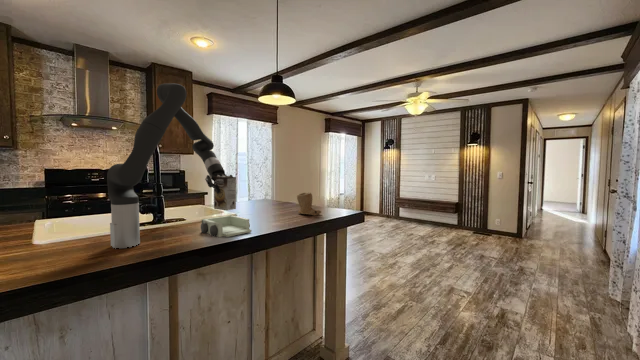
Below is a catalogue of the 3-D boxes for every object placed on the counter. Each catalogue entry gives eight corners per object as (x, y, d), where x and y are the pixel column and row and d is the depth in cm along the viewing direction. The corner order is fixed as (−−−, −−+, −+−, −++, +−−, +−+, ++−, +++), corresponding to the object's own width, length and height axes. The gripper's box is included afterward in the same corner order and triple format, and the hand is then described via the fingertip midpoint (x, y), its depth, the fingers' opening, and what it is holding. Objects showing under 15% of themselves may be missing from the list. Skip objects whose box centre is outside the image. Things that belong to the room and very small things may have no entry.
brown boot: (293, 214, 188) (293, 192, 187) (305, 212, 197) (305, 191, 196) (309, 217, 178) (309, 193, 177) (321, 214, 187) (322, 192, 186)
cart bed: (221, 239, 124) (221, 225, 123) (199, 231, 137) (199, 219, 137) (256, 231, 138) (256, 219, 137) (233, 225, 151) (233, 214, 151)
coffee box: (213, 209, 138) (213, 176, 137) (223, 207, 143) (223, 176, 142) (226, 210, 133) (226, 176, 132) (236, 208, 139) (236, 176, 138)
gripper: (203, 162, 136) (215, 187, 130) (229, 163, 147) (242, 186, 140) (198, 173, 140) (210, 198, 133) (224, 172, 151) (236, 195, 144)
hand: (226, 191), depth 137 cm, fingers closed on coffee box, 7 cm apart
